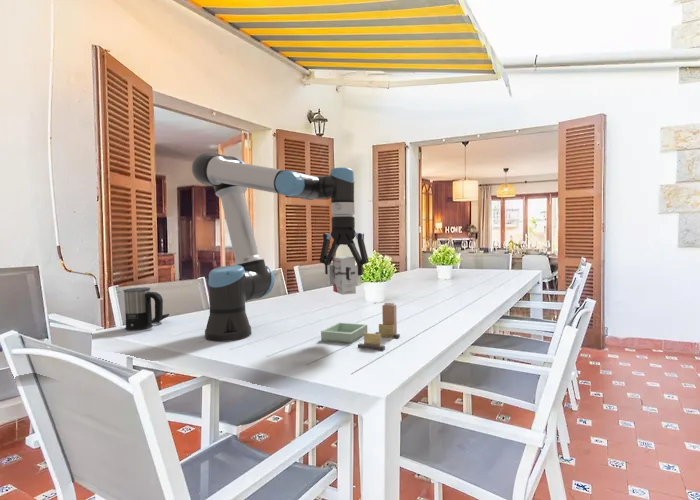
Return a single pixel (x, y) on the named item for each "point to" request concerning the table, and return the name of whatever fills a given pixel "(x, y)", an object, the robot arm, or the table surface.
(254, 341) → the table surface
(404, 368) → the table surface
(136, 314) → the milk frother
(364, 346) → the holder base
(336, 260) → the ink box
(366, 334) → the clip rails
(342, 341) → the tray
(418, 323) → the table surface
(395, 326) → the fuse
